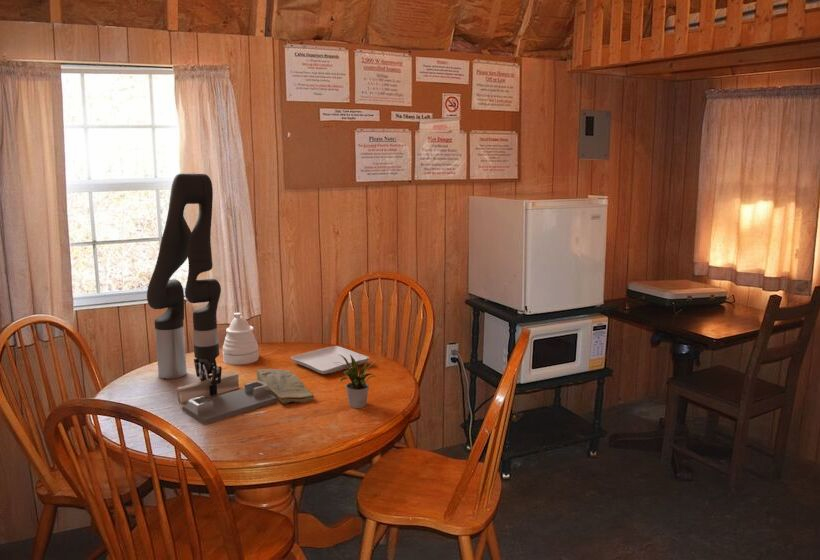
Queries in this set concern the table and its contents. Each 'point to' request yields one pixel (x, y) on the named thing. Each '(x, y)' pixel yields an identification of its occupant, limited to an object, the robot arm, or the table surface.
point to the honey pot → (240, 342)
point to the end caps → (202, 407)
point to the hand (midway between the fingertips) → (209, 393)
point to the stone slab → (284, 385)
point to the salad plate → (328, 359)
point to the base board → (231, 405)
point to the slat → (207, 388)
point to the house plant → (356, 384)
